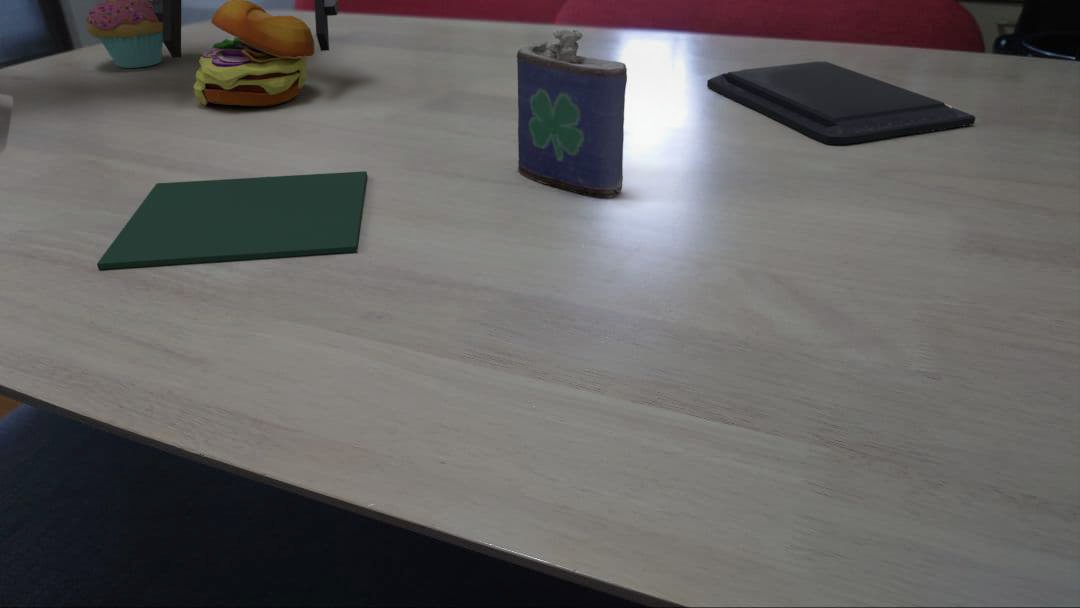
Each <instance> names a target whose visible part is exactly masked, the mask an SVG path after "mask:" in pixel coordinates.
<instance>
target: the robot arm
mask: <svg viewBox="0 0 1080 608" xmlns="http://www.w3.org/2000/svg"><path fill="white" fill-rule="evenodd" d="M151 1H152V3H153V4H152V9H153V11H154V13H155V15H156V17H157V18H158V20H159V22H163V45H164V46H165V47H166V49H167V51H168V52H169V54H170V55H171V57H172V59H175V58H176V59H177V58H182V0H151ZM338 13H339V0H314V16H315V17H314V18H315V19H314V20H315V35H316V38H317V39H316V40H317V42H318V45H319V49H320V51H321V52H325V51H326V52H327V51H330V41H329V40H330V39H329V20H328V19H329V18H328V17H329V16H331V17H333V16H337V15H338Z"/></svg>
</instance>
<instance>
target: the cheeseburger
mask: <svg viewBox="0 0 1080 608" xmlns="http://www.w3.org/2000/svg"><path fill="white" fill-rule="evenodd" d="M211 24H212V25H214V26H215V27H217V28H218V29H220V30H221V31H223V32H226V33H227V34H230V35H231V36H233V37H234V38H233V40H230V39H227V38H225V39H223V40H222V41H221V42H216V43H214V44H212V47H211V49H213V50H208V51H206V52H204V53H202V55H201V56H200V57H199V60H198V63H199V64H200V67H199V68H198V70H197V71H196V72H195V76H194V77H195V81H196V82H195V83H194V85H193V91H194V96H195V97H196V98H197V99H198V101H199V102H200V103H201V104H202V105H203V106H205V107H206V106H207V102H209V103H211V104H216V105H226V106H227V105H229V106H246V107H257V108H259V107H268V106H269V107H270V106H278V105H280V104H282V103H286V102H288V101H290V100H292V99H294V98H295V97H296V96H297V95H299V93H300V90H301V89H302V88H303V86H304V85H305V82H306V80H307V67H308V66H307V65H308V60H307V57H312V56H314V54H315V39H314V37H313V33H312V30H311V28H310V27H309V26H308V25H307V24H306V22H305V21H304V20H302V19H300V18H298V17H296V16H293V15H272V14H270V13H268V12H267V11H266V10H265V9H263V8H262V6H260V5H258V4H256V3H254V2H252V1H249V0H226V2H224V3H223V4H222V5H221V6H219V8H218V9H217V10H216V11H215V13H214V15H213V16H212V18H211Z"/></svg>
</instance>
